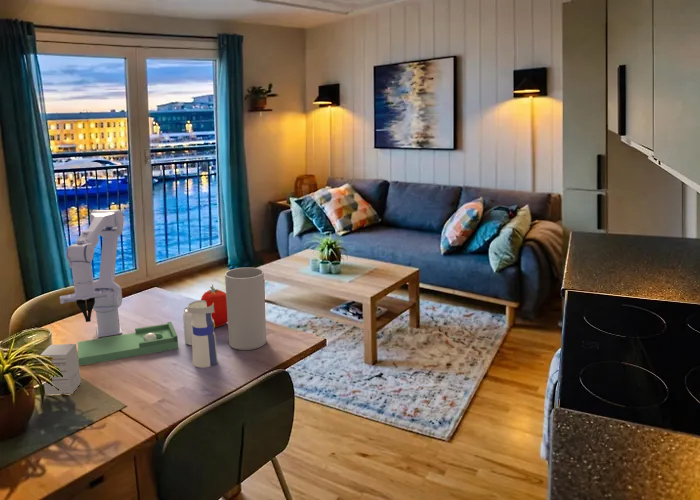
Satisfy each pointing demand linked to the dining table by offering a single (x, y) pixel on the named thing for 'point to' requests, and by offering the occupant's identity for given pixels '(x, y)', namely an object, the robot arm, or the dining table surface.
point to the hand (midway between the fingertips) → (88, 320)
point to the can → (188, 326)
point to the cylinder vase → (245, 308)
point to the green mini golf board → (127, 344)
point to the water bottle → (203, 333)
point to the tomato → (217, 306)
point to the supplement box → (64, 369)
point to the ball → (150, 337)
